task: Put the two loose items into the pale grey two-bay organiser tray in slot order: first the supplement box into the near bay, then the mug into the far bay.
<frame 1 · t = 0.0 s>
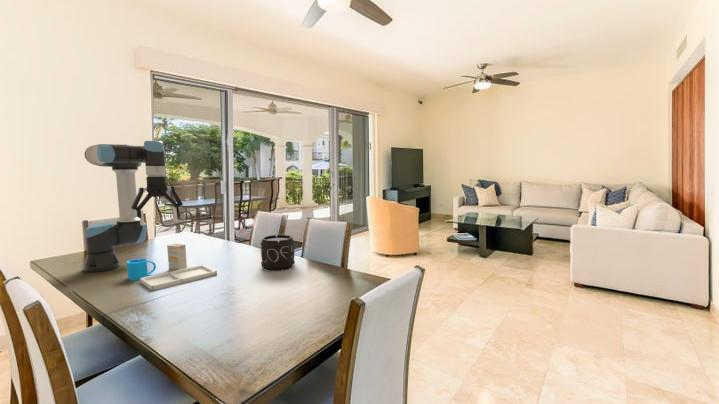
hand: (159, 223, 158), 28 cm above the table, fingers open, 13 cm apart
mug: (142, 276, 171), on the table
supplement box: (178, 269, 182), on the table
organiser tray: (179, 278, 168), on the table
black cylindrical pot: (278, 267, 186), on the table
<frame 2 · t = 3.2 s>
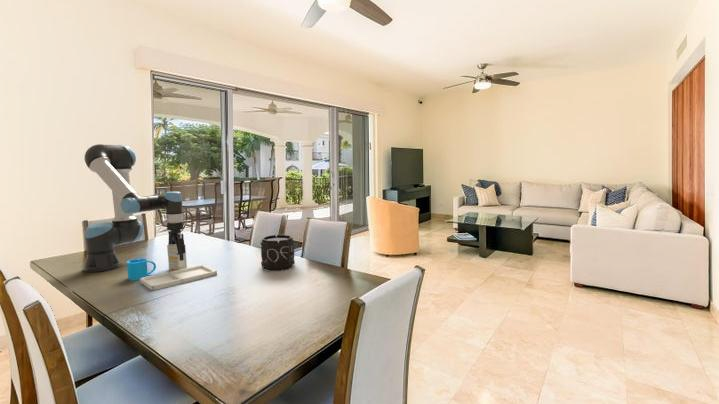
hand: (177, 264, 182), 3 cm above the table, fingers closed on supplement box, 9 cm apart
supplement box: (178, 269, 182), on the table, touching gripper
everything else where it was.
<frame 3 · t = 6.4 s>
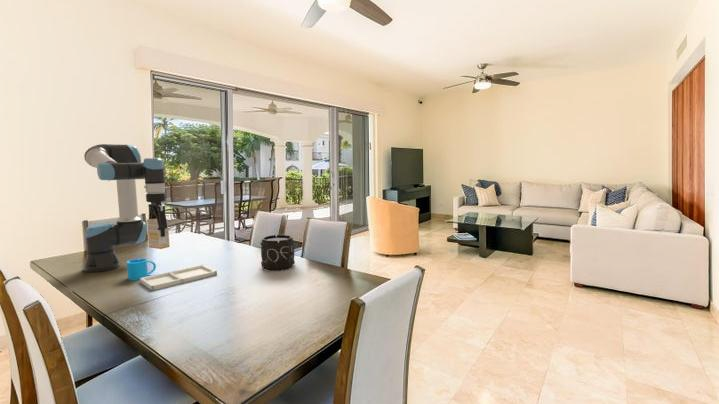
hand: (158, 242, 160), 19 cm above the table, fingers closed on supplement box, 9 cm apart
supplement box: (159, 247, 160), point 16 cm above the table, touching gripper
everything else where it was.
when the fingers open (4 cm above the table, at t = 9.5 s): supplement box drops 1 cm, resting on organiser tray.
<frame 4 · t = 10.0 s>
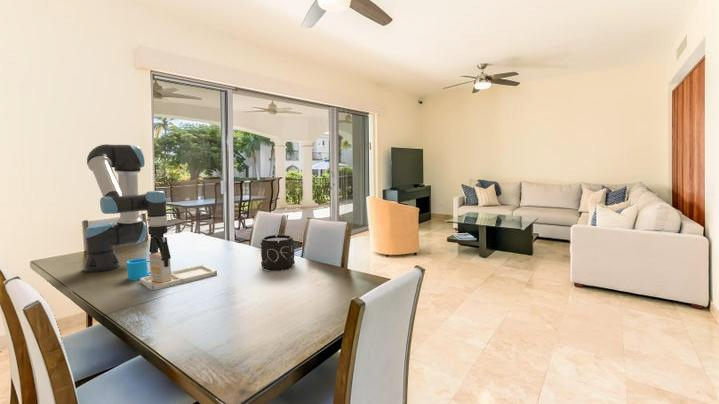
hand: (160, 270, 161), 6 cm above the table, fingers open, 13 cm apart
supplement box: (161, 281, 162), resting on organiser tray
everything else where it was.
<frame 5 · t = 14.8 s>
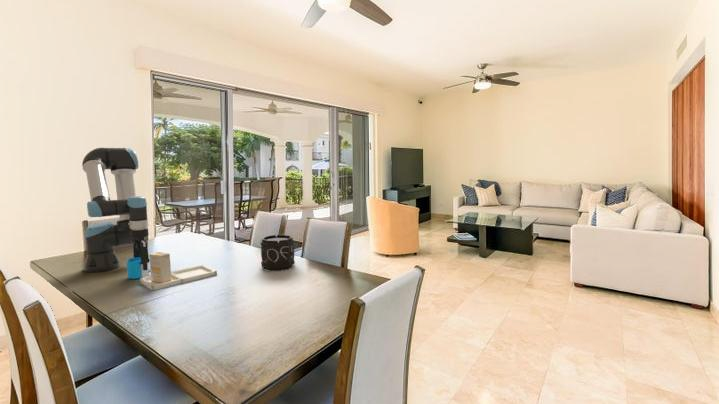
hand: (142, 274, 171), 1 cm above the table, fingers closed on mug, 8 cm apart
mug: (142, 275, 171), on the table, touching gripper
everything else where it was.
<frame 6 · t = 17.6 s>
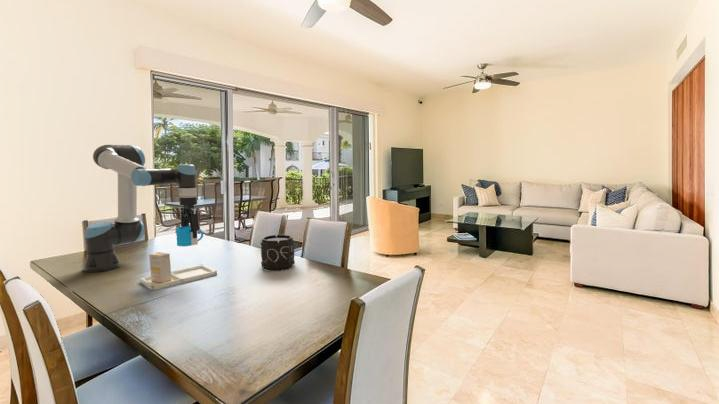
hand: (190, 243, 170), 16 cm above the table, fingers closed on mug, 8 cm apart
mug: (190, 244, 170), point 16 cm above the table, touching gripper
everything else where it was.
when the fingers open (2 cm above the table, at t = 20.4 s): mug drops 1 cm, resting on organiser tray.
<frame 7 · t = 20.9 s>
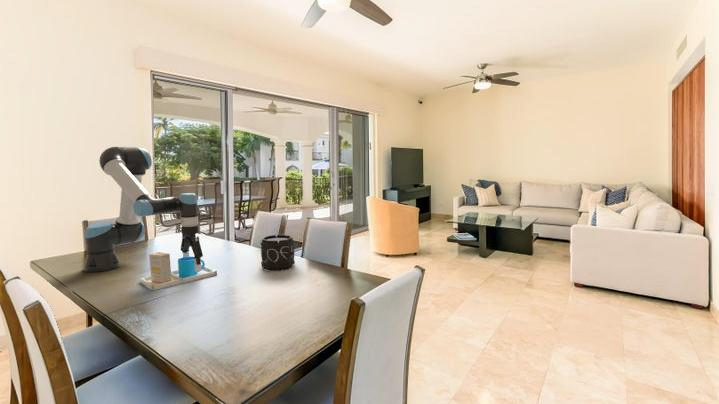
hand: (192, 268, 172), 4 cm above the table, fingers open, 13 cm apart
mug: (192, 274, 172), resting on organiser tray
everything else where it was.
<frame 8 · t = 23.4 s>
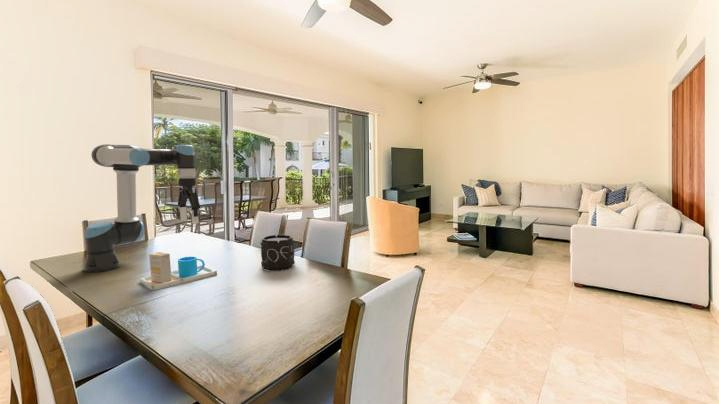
hand: (189, 221, 169), 27 cm above the table, fingers open, 13 cm apart
nothing on the table moved.
at the end: supplement box inside the target area on the organiser tray (0.3 cm from its centre), point 0.4 cm above the organiser tray's base; supplement box tilted 0°; mug inside the target area on the organiser tray (0.5 cm from its centre), point 0.4 cm above the organiser tray's base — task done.
